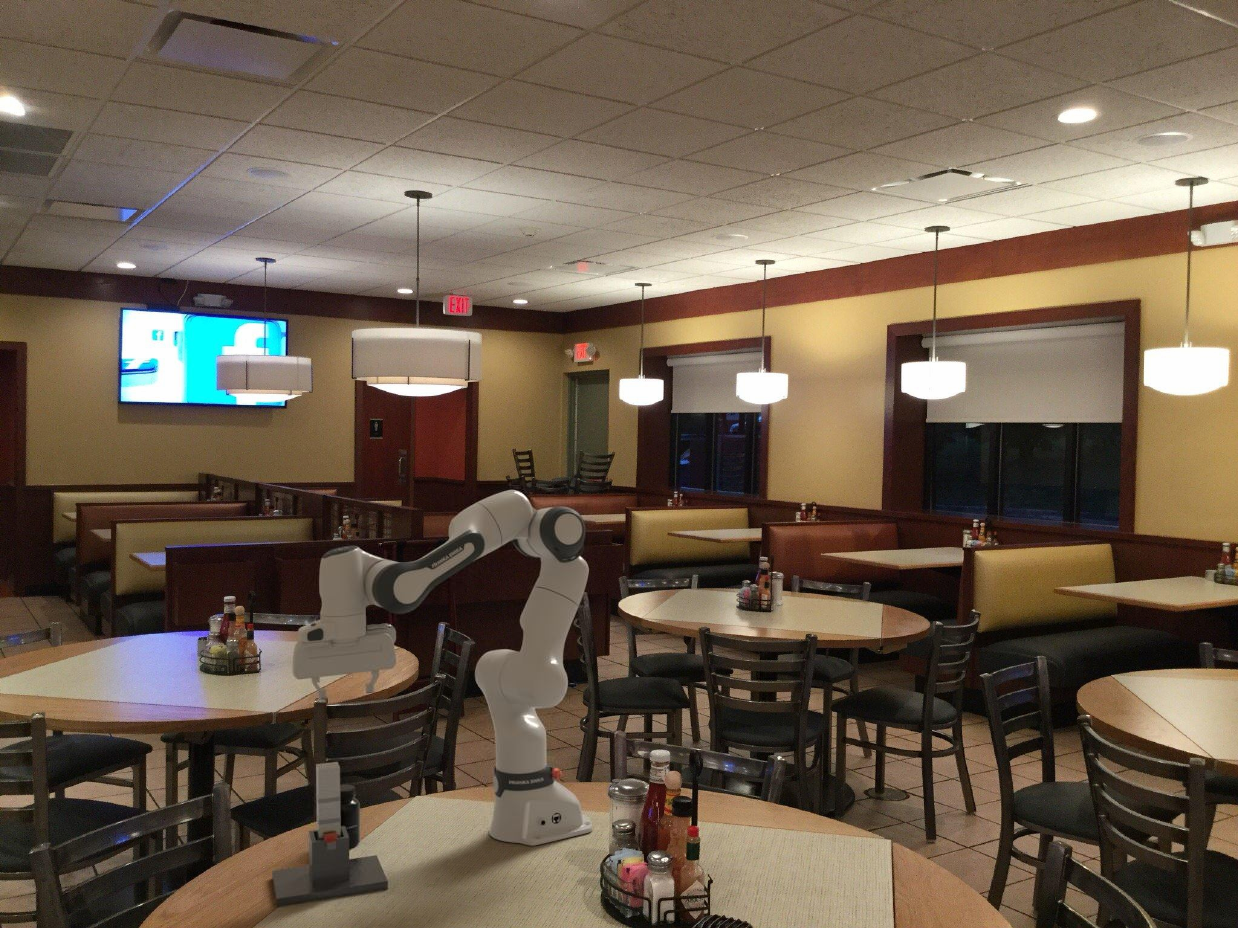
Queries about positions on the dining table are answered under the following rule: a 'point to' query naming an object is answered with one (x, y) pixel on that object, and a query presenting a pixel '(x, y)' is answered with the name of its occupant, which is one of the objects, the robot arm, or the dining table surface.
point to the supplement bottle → (350, 814)
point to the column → (328, 799)
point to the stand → (328, 873)
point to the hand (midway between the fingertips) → (346, 695)
